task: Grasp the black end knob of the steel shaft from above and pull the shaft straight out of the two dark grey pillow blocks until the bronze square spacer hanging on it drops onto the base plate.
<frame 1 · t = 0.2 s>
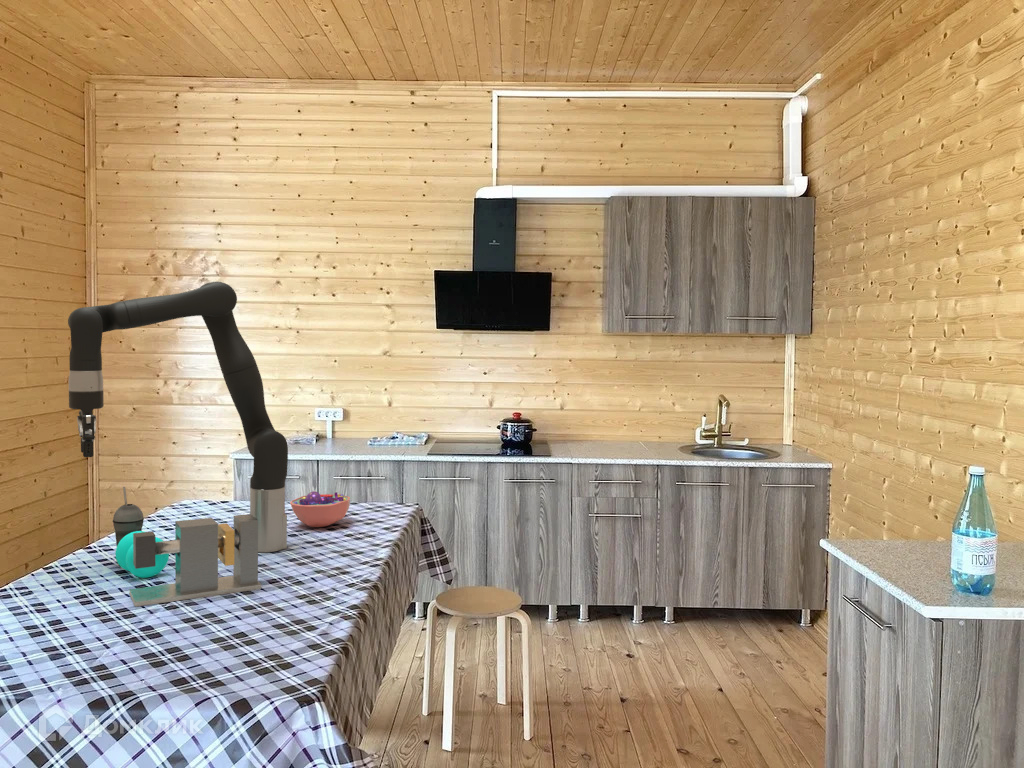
hand: (87, 454, 197), 29 cm above the table, tool pointing down, fingers open, 8 cm apart
shaft: (195, 544, 183), point 11 cm above the table, slide at 0.0 cm, touching spacer
donuts: (142, 574, 196), on the table
pillow blocks: (196, 591, 184), on the table
cell model: (321, 526, 251), on the table
spacer: (225, 561, 187), point 6 cm above the table, touching shaft
beverage cup: (128, 565, 204), on the table
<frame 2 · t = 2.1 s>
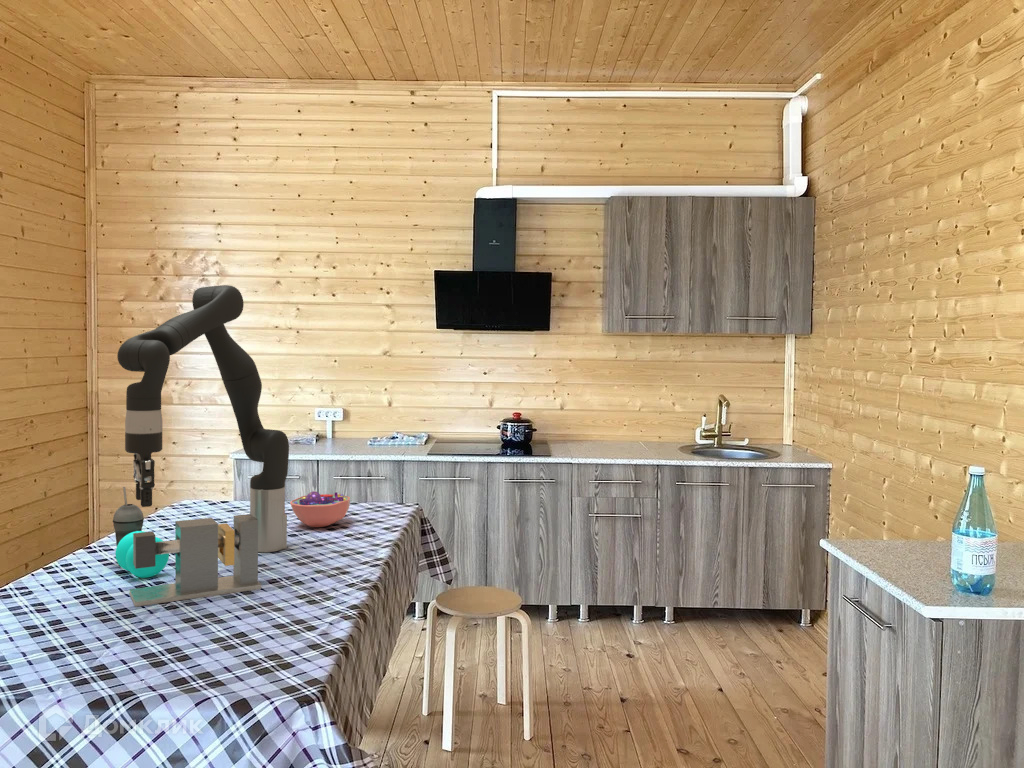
hand: (143, 502, 177), 22 cm above the table, tool pointing down, fingers open, 8 cm apart
nothing on the table moved.
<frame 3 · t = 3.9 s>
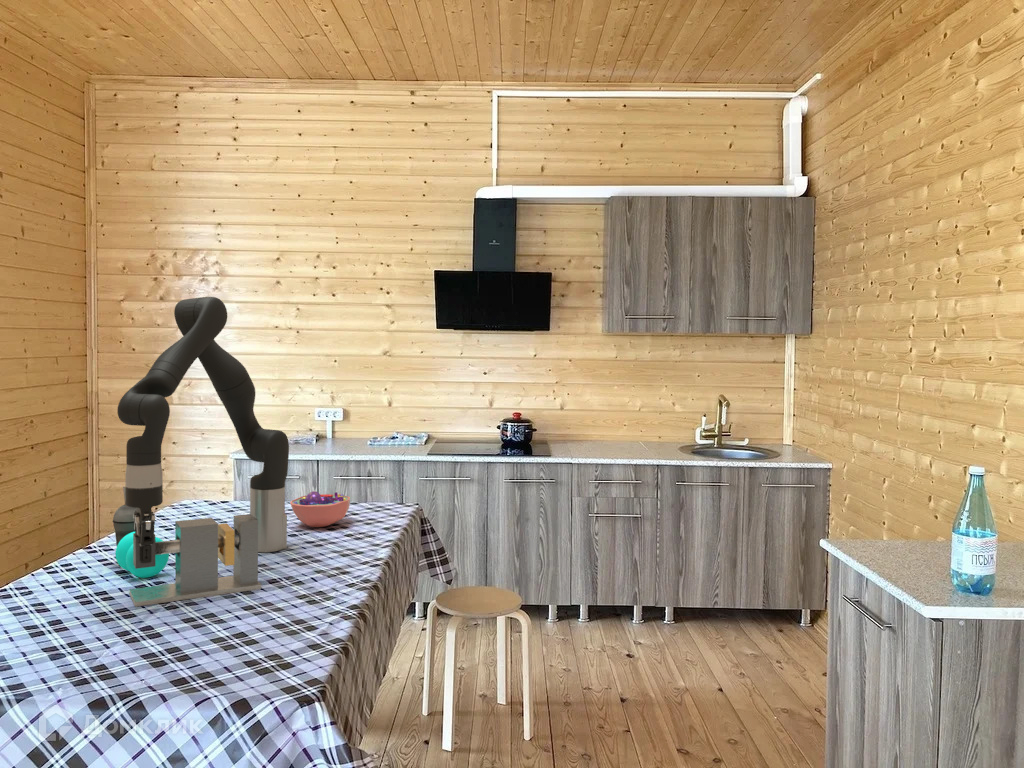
hand: (144, 559, 178), 9 cm above the table, tool pointing down, fingers closed on shaft, 4 cm apart
shaft: (195, 544, 183), point 11 cm above the table, slide at 0.0 cm, touching gripper, spacer
everything else where it was.
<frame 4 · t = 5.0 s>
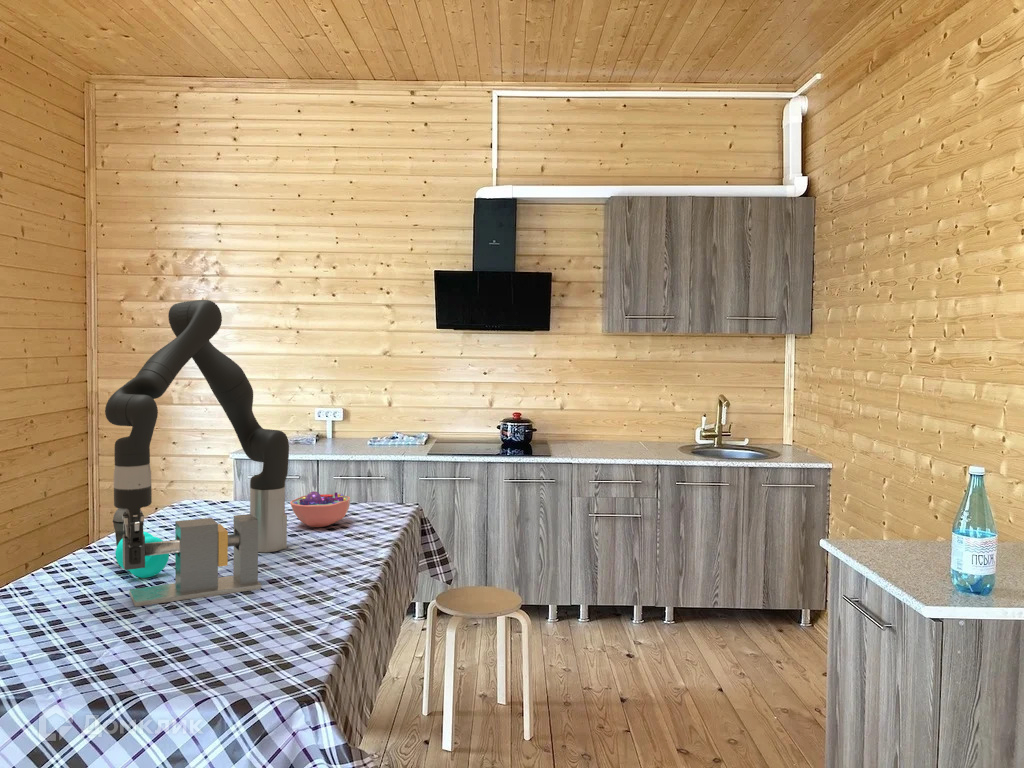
hand: (133, 560, 177), 9 cm above the table, tool pointing down, fingers closed on shaft, 4 cm apart
shaft: (185, 545, 182), point 11 cm above the table, slide at 2.1 cm, touching gripper
spacer: (219, 561, 186), point 6 cm above the table
everything else where it was.
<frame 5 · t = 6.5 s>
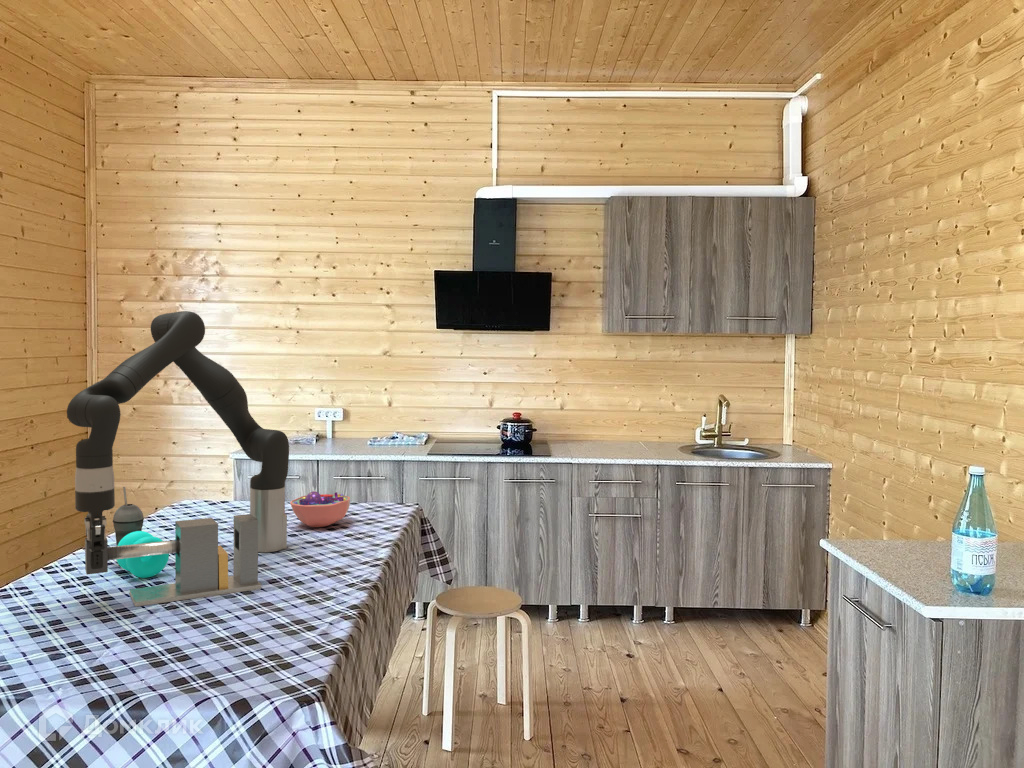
hand: (96, 565, 173), 9 cm above the table, tool pointing down, fingers closed on shaft, 4 cm apart
shaft: (150, 549, 178), point 11 cm above the table, slide at 9.5 cm, touching gripper
spacer: (220, 583, 187), point 1 cm above the table, touching pillow blocks
everything else where it was.
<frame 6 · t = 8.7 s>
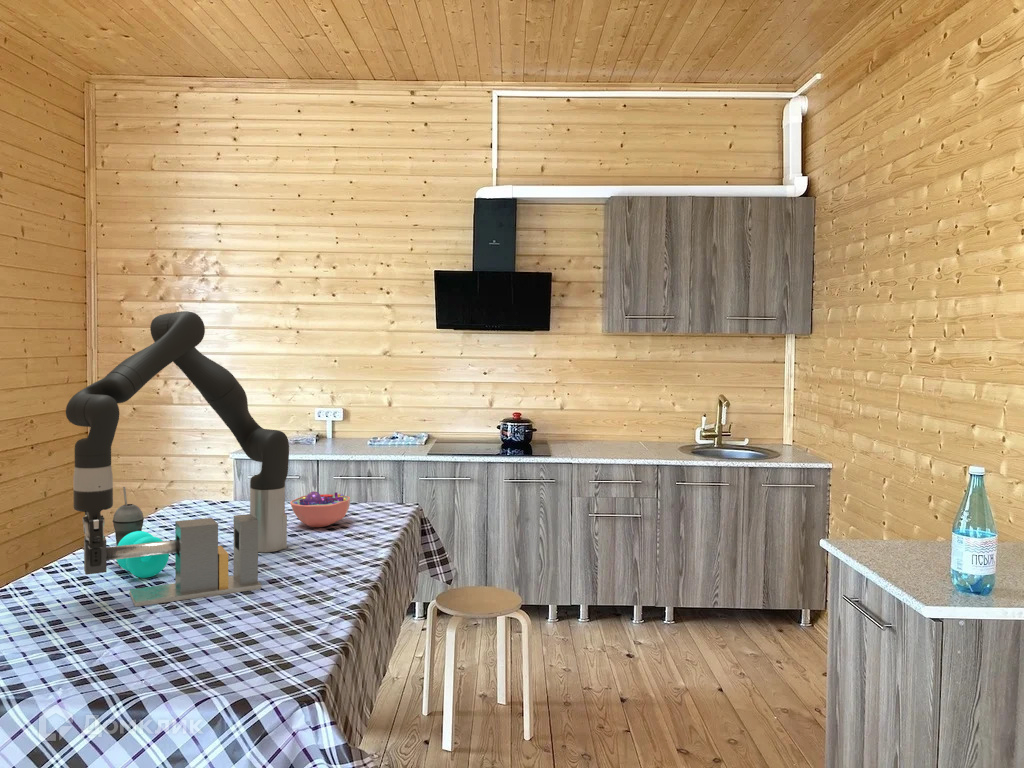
hand: (93, 561, 173), 10 cm above the table, tool pointing down, fingers open, 8 cm apart
shaft: (149, 549, 178), point 11 cm above the table, slide at 9.7 cm
everything else where it was.
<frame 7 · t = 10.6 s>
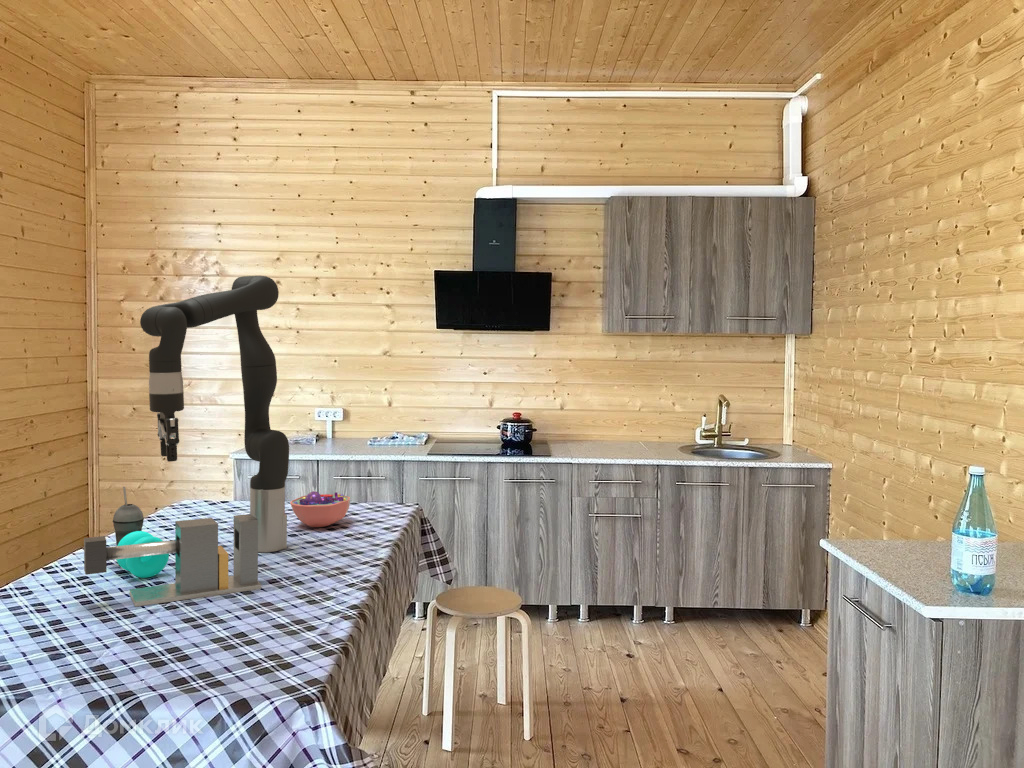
hand: (168, 458, 191), 29 cm above the table, tool pointing down, fingers open, 8 cm apart
nothing on the table moved.
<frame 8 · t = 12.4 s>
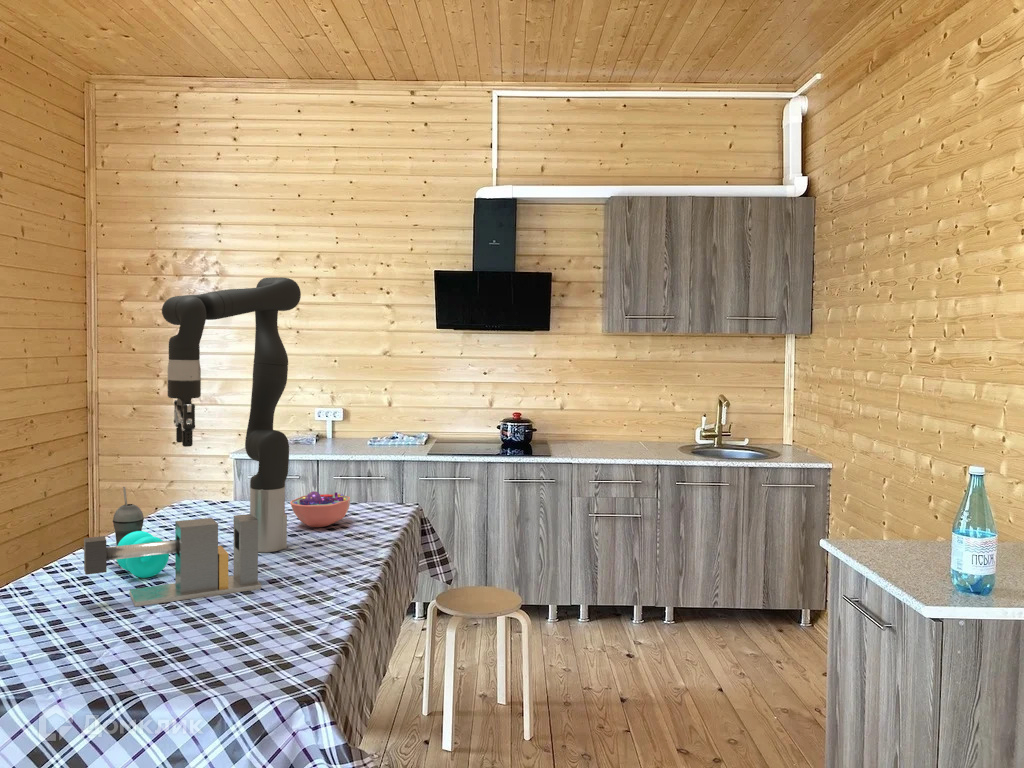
hand: (184, 444, 196), 32 cm above the table, tool pointing down, fingers open, 8 cm apart
nothing on the table moved.
at the end: shaft slide at 9.7 cm; spacer point 1.0 cm above the table; spacer 5.2 cm from the pillow blocks (horizontally) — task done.
